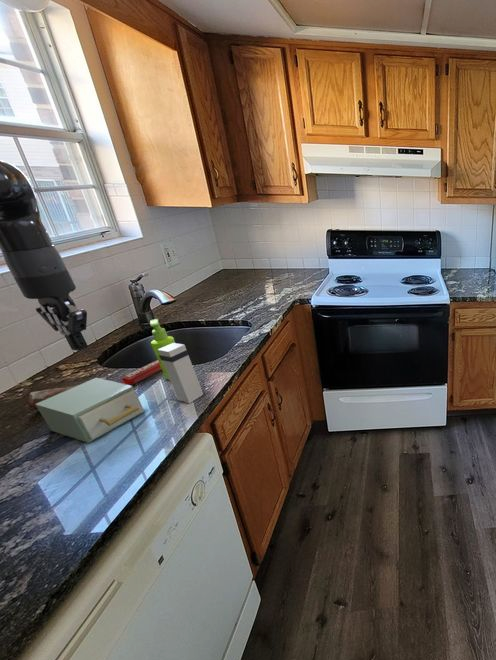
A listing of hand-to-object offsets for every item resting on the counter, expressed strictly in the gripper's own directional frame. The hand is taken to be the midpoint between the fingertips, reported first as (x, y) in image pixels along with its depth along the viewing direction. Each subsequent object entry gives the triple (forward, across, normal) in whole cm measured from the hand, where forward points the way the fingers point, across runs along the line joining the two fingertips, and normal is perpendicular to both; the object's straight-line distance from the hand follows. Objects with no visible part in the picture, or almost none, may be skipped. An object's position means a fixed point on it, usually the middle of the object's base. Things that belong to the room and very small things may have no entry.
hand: (80, 348), depth 79 cm
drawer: (+26, +15, -4) cm, 30 cm away
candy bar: (+27, +32, -26) cm, 49 cm away
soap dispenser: (+27, +22, -28) cm, 45 cm away
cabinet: (+27, +19, -4) cm, 33 cm away
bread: (+27, +37, -9) cm, 47 cm away
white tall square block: (+27, +5, -20) cm, 34 cm away
